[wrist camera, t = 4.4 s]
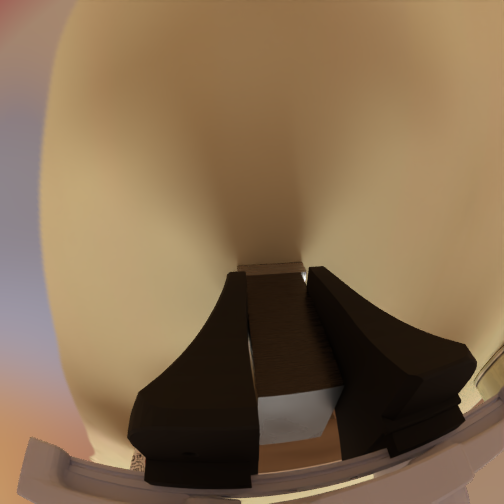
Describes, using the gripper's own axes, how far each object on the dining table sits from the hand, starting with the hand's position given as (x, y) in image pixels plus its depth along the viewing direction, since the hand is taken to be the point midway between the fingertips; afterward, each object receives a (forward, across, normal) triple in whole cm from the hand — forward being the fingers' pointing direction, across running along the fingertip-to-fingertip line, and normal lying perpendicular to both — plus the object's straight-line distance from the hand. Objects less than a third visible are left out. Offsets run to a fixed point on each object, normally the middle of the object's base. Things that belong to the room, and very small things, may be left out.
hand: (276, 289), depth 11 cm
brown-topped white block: (+2, 0, +7) cm, 8 cm away
